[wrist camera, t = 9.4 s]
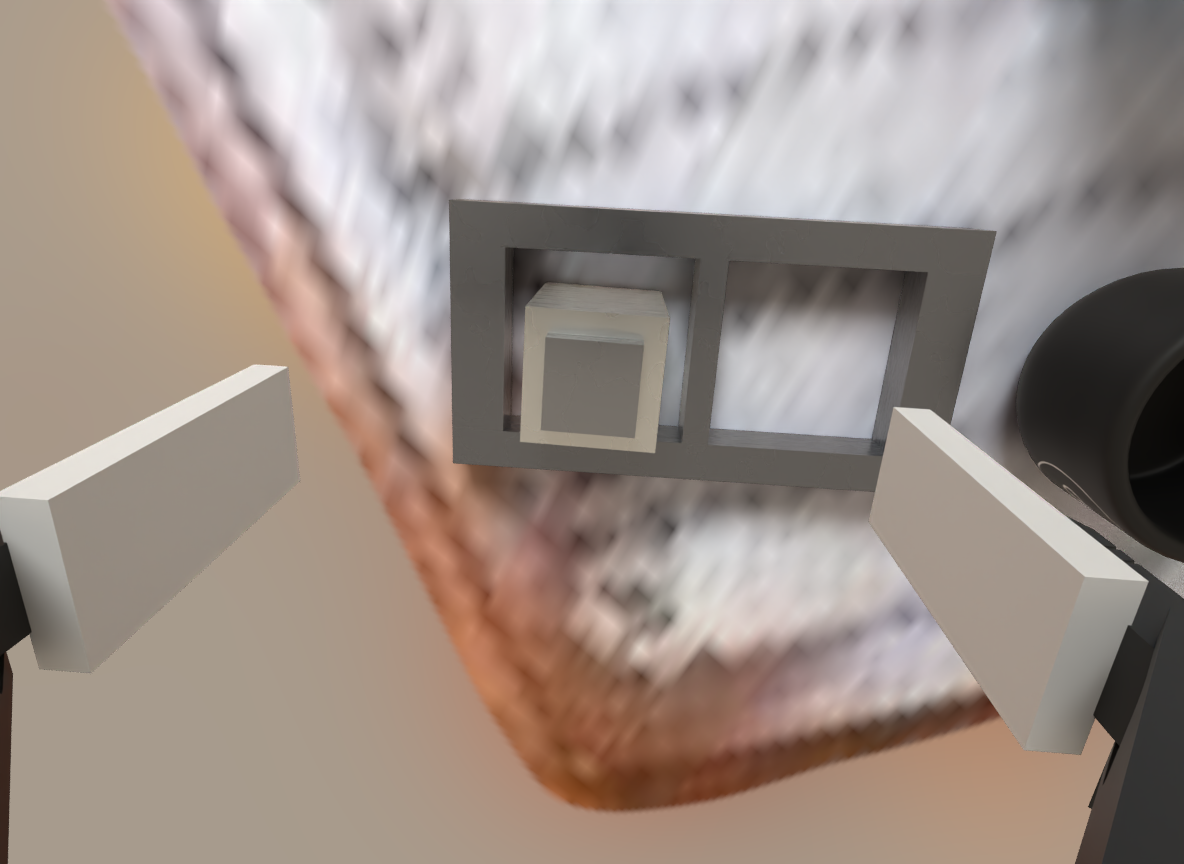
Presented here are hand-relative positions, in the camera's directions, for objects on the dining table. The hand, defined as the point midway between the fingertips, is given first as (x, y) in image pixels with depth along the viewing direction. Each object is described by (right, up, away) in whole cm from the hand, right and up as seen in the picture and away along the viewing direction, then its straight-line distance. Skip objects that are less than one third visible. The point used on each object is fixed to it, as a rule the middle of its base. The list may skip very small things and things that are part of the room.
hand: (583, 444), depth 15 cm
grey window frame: (+4, +4, +12) cm, 14 cm away
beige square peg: (+1, +4, +13) cm, 13 cm away
